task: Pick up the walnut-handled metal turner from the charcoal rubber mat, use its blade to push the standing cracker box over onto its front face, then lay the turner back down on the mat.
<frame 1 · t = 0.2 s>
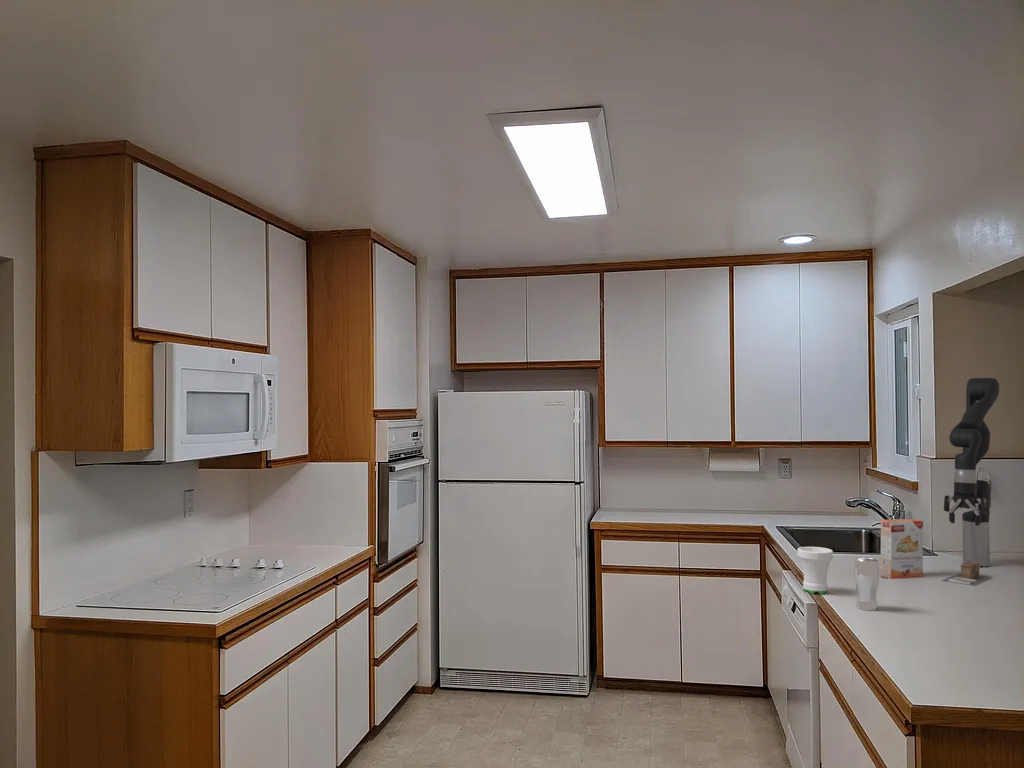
hand: (964, 524, 307), 17 cm above the worktop, tool pointing down, fingers open, 8 cm apart
cracker box: (902, 578, 294), on the worktop
cup: (815, 592, 271), on the worktop
beer glass: (867, 609, 249), on the worktop
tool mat: (967, 580, 289), on the worktop
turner: (966, 579, 288), resting on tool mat
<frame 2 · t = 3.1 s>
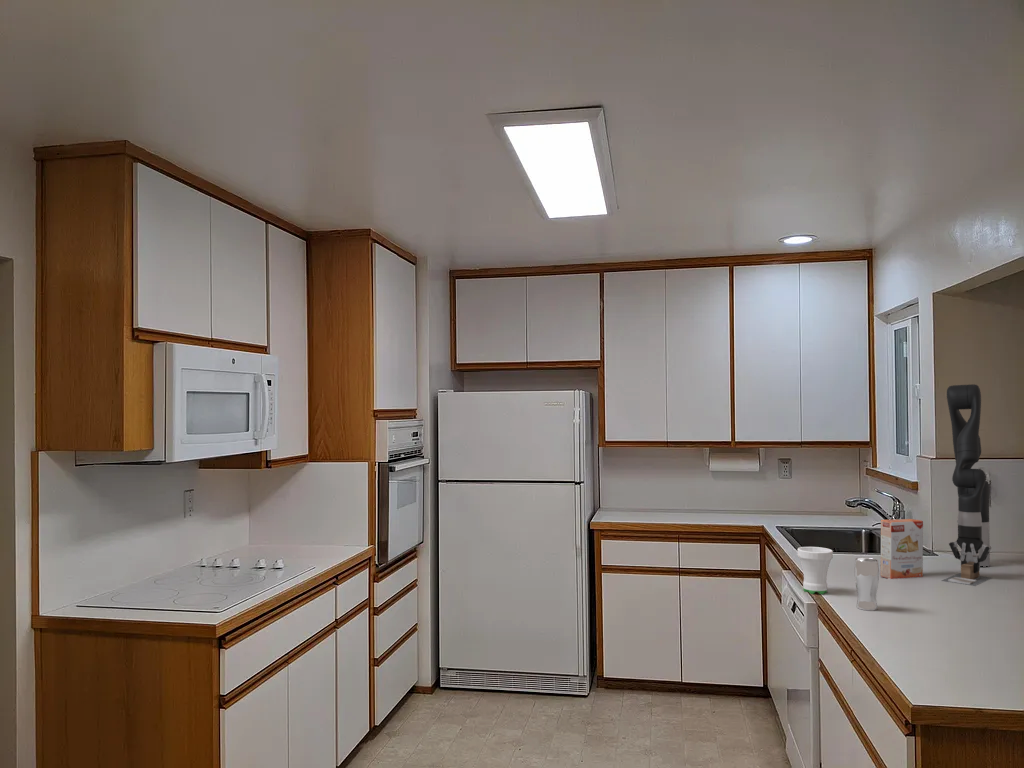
hand: (970, 571, 291), 3 cm above the worktop, tool pointing down, fingers closed on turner, 3 cm apart
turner: (966, 579, 288), point 1 cm above the worktop, touching gripper, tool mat
everything else where it was.
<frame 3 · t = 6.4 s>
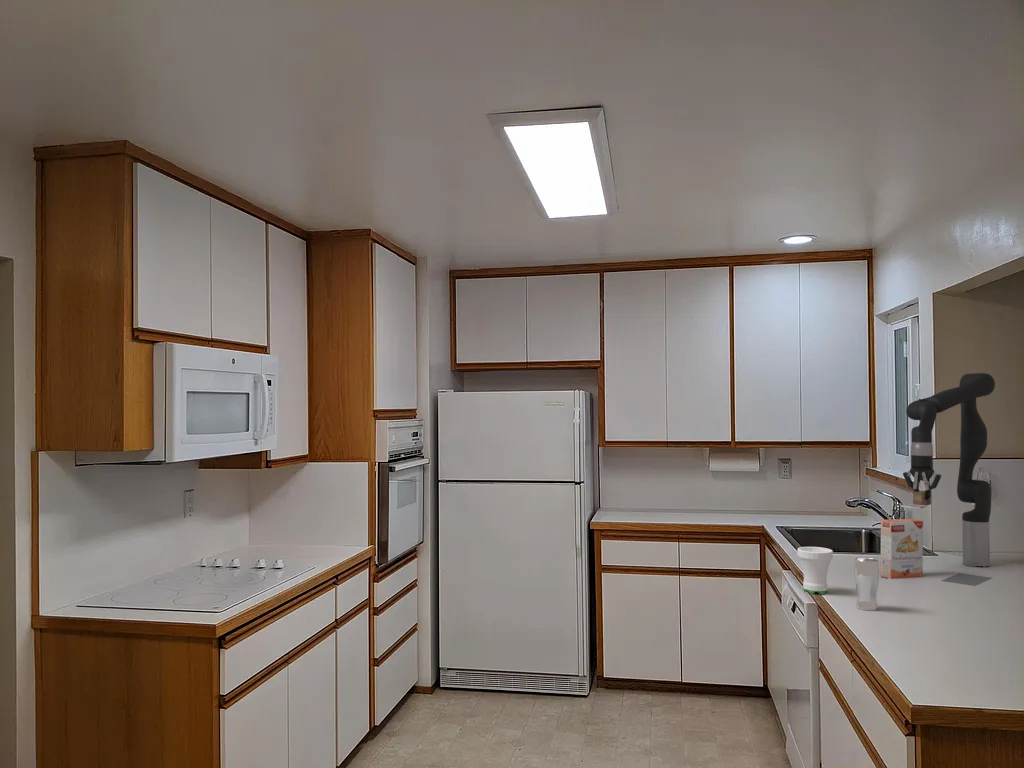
hand: (922, 499, 308), 27 cm above the worktop, tool pointing down, fingers closed on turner, 3 cm apart
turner: (918, 505, 305), point 25 cm above the worktop, touching gripper
everything else where it was.
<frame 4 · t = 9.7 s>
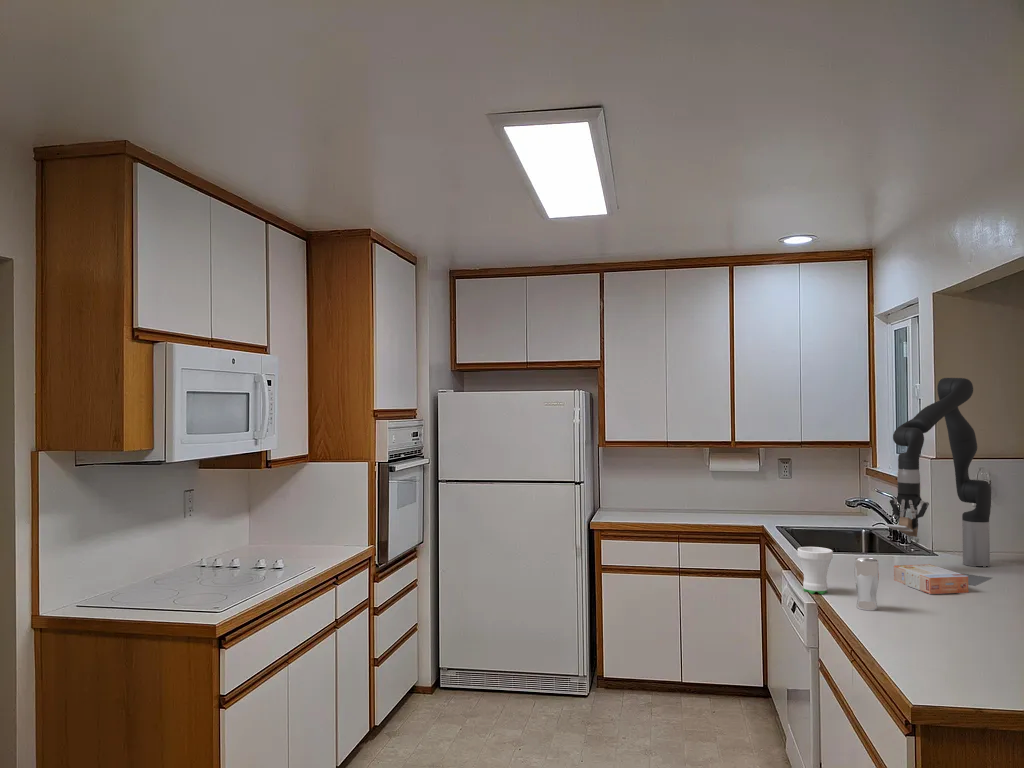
hand: (909, 527, 299), 17 cm above the worktop, tool pointing down, fingers closed on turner, 3 cm apart
cracker box: (911, 572, 289), point 3 cm above the worktop
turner: (903, 531, 296), point 17 cm above the worktop, tilted 18°, touching gripper
everything else where it was.
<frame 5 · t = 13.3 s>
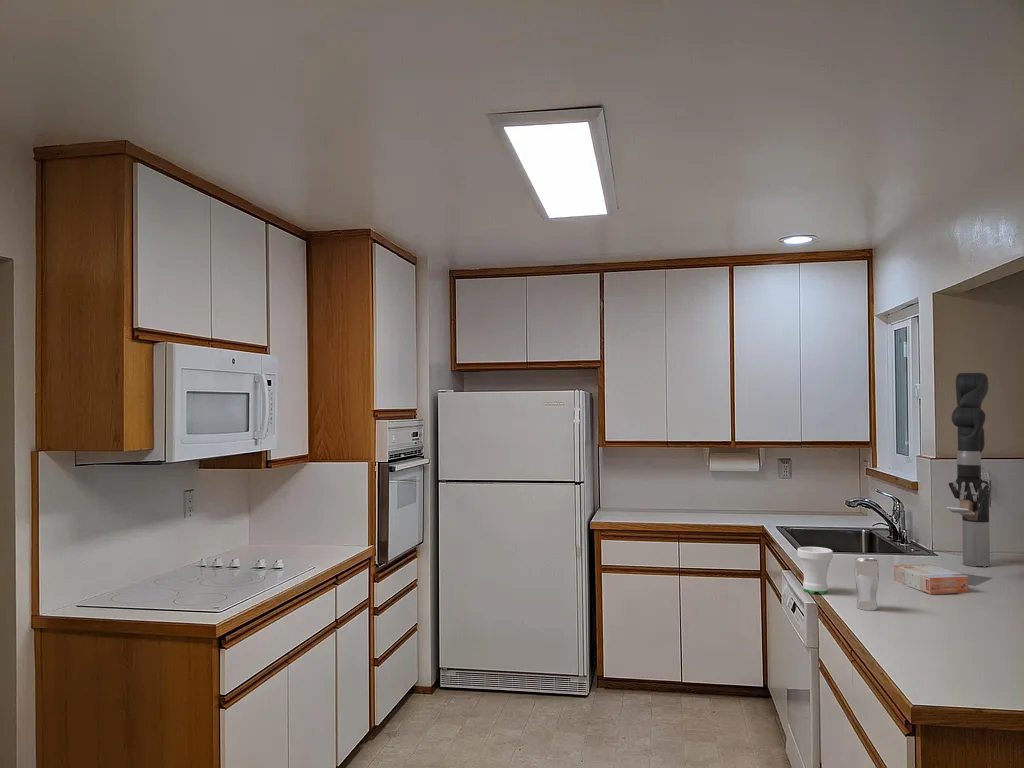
hand: (969, 511, 292), 24 cm above the worktop, tool pointing down, fingers closed on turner, 3 cm apart
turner: (964, 514, 288), point 24 cm above the worktop, tilted 18°, touching gripper
everything else where it was.
when the fingers open (4 cm above the worktop, at t = 16.6 s): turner drops 3 cm, resting on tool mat.
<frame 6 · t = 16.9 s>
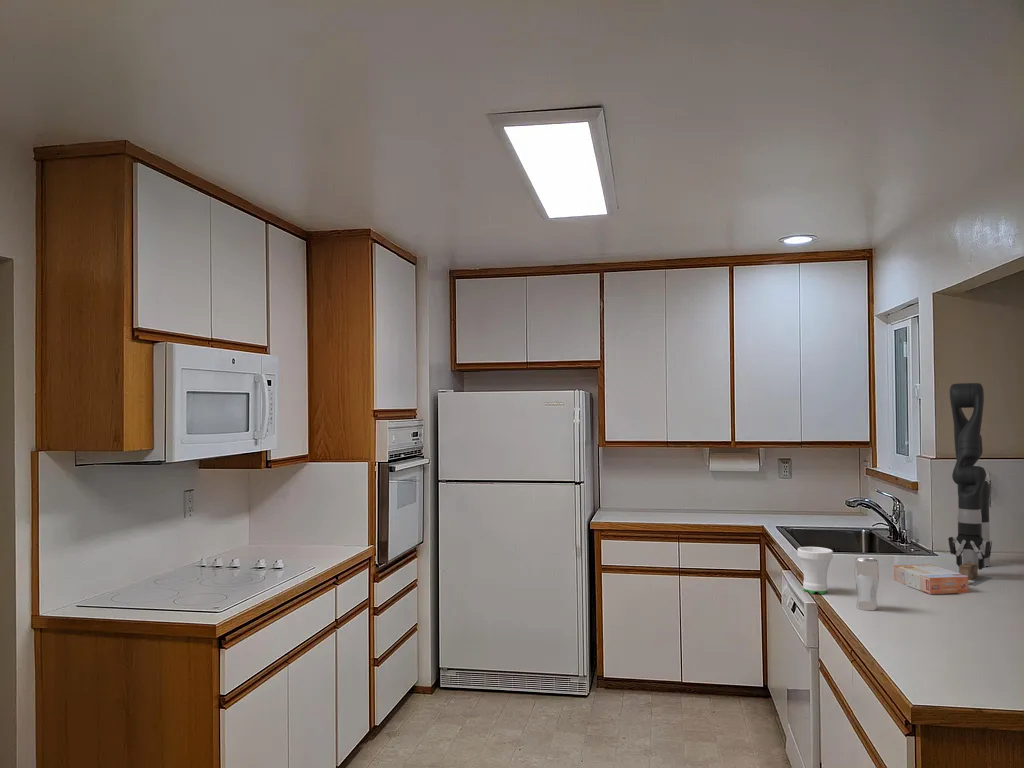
hand: (970, 567, 291), 4 cm above the worktop, tool pointing down, fingers open, 6 cm apart
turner: (964, 580, 287), resting on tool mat
everything else where it was.
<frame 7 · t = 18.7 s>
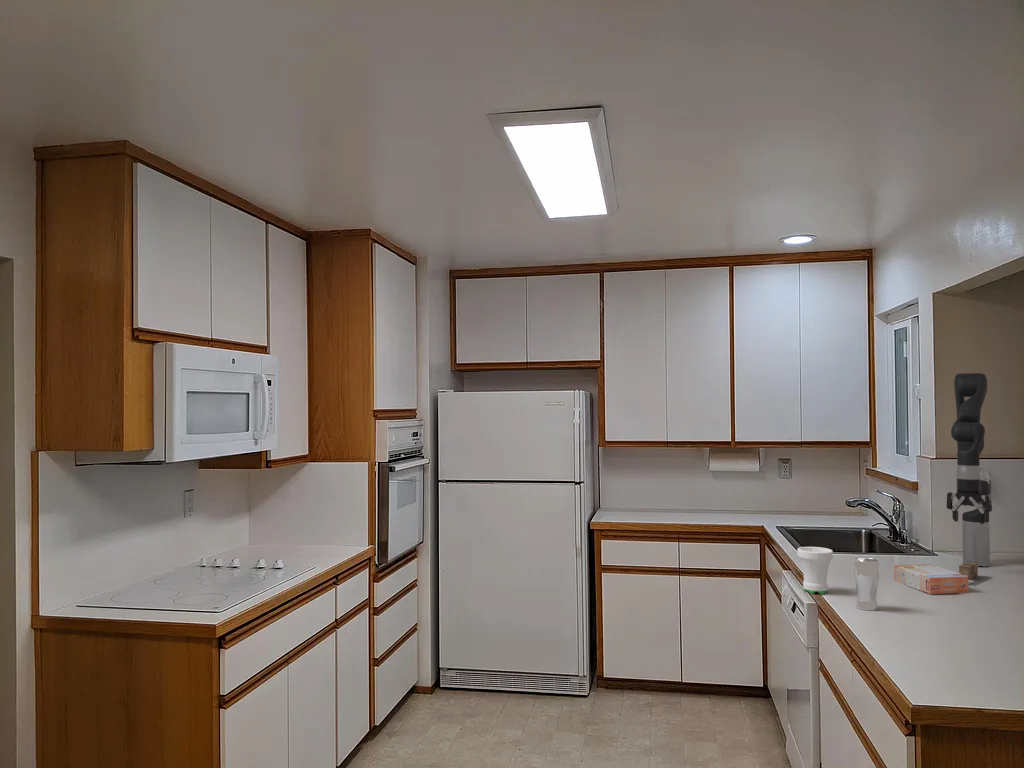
hand: (969, 522, 292), 20 cm above the worktop, tool pointing down, fingers open, 8 cm apart
nothing on the worktop moved.
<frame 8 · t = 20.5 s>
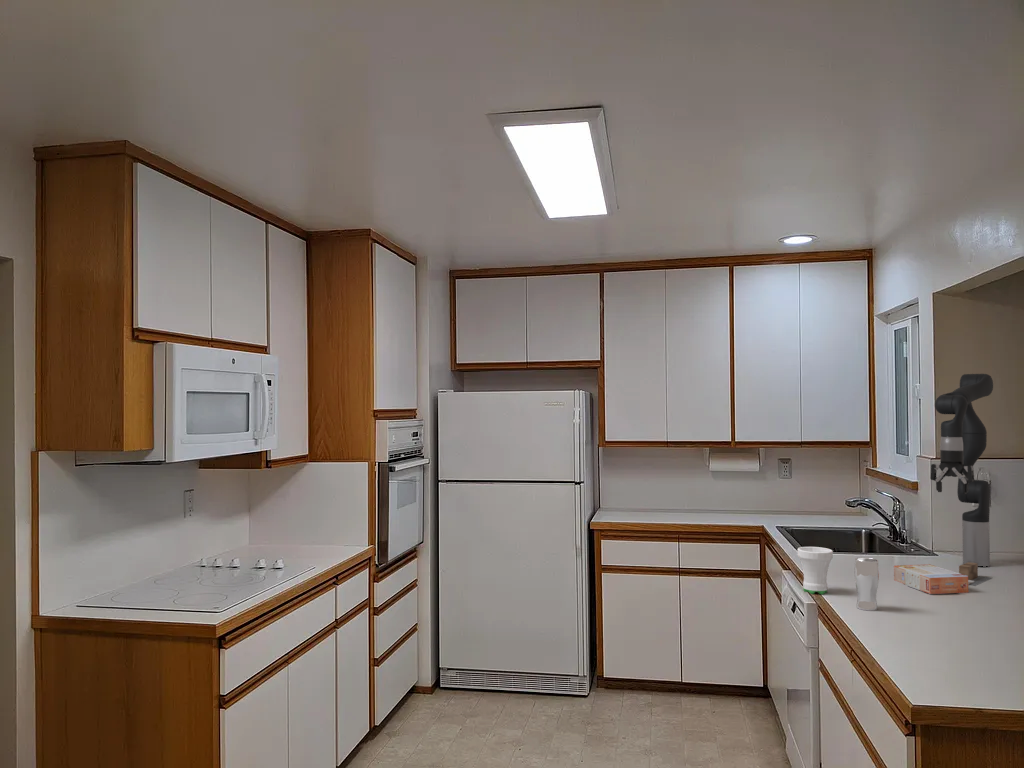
hand: (952, 492, 300), 30 cm above the worktop, tool pointing down, fingers open, 8 cm apart
nothing on the worktop moved.
at the end: cracker box tilted 89°; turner inside the target area (1.5 cm from its centre), point 0.5 cm above the worktop; the gripper is holding nothing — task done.
